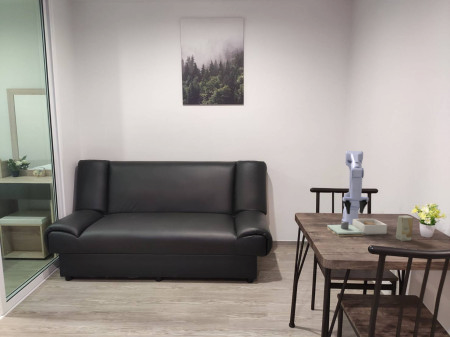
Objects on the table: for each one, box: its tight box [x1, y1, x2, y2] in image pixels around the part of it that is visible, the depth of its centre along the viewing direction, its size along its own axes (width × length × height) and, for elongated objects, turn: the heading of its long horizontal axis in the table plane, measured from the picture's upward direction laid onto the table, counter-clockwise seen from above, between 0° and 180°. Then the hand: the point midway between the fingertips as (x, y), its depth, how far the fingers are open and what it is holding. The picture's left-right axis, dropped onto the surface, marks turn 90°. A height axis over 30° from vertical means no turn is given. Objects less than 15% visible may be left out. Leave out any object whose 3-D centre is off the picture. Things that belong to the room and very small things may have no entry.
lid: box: [326, 220, 363, 234], centre depth 191 cm, size 14×14×5 cm
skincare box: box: [395, 214, 414, 242], centre depth 179 cm, size 6×4×12 cm
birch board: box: [326, 227, 364, 238], centre depth 191 cm, size 15×14×1 cm
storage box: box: [351, 218, 388, 236], centre depth 194 cm, size 13×13×5 cm
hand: (354, 213), depth 194 cm, fingers open, 7 cm apart
